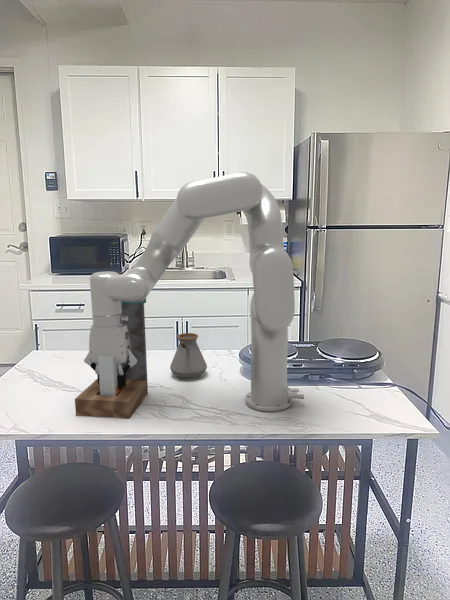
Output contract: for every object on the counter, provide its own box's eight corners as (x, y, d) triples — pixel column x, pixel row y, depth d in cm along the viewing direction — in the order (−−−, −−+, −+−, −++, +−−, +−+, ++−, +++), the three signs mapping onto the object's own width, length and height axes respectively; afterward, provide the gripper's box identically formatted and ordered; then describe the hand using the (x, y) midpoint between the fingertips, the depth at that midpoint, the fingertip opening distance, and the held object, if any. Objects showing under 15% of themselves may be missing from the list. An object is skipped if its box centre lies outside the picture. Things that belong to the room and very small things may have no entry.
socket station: (150, 390, 129) (145, 296, 124) (129, 418, 112) (123, 311, 107) (103, 388, 131) (97, 295, 126) (76, 415, 114) (67, 309, 109)
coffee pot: (172, 368, 147) (171, 324, 144) (208, 368, 147) (207, 324, 144) (163, 395, 126) (161, 344, 123) (204, 395, 126) (203, 344, 123)
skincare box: (115, 401, 116) (112, 357, 114) (100, 400, 117) (97, 356, 115) (125, 392, 122) (122, 349, 120) (110, 391, 123) (107, 349, 120)
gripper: (144, 317, 118) (147, 383, 122) (83, 316, 120) (88, 380, 124) (134, 324, 111) (138, 394, 114) (70, 323, 113) (75, 391, 117)
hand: (112, 386), depth 119 cm, fingers closed on skincare box, 4 cm apart
